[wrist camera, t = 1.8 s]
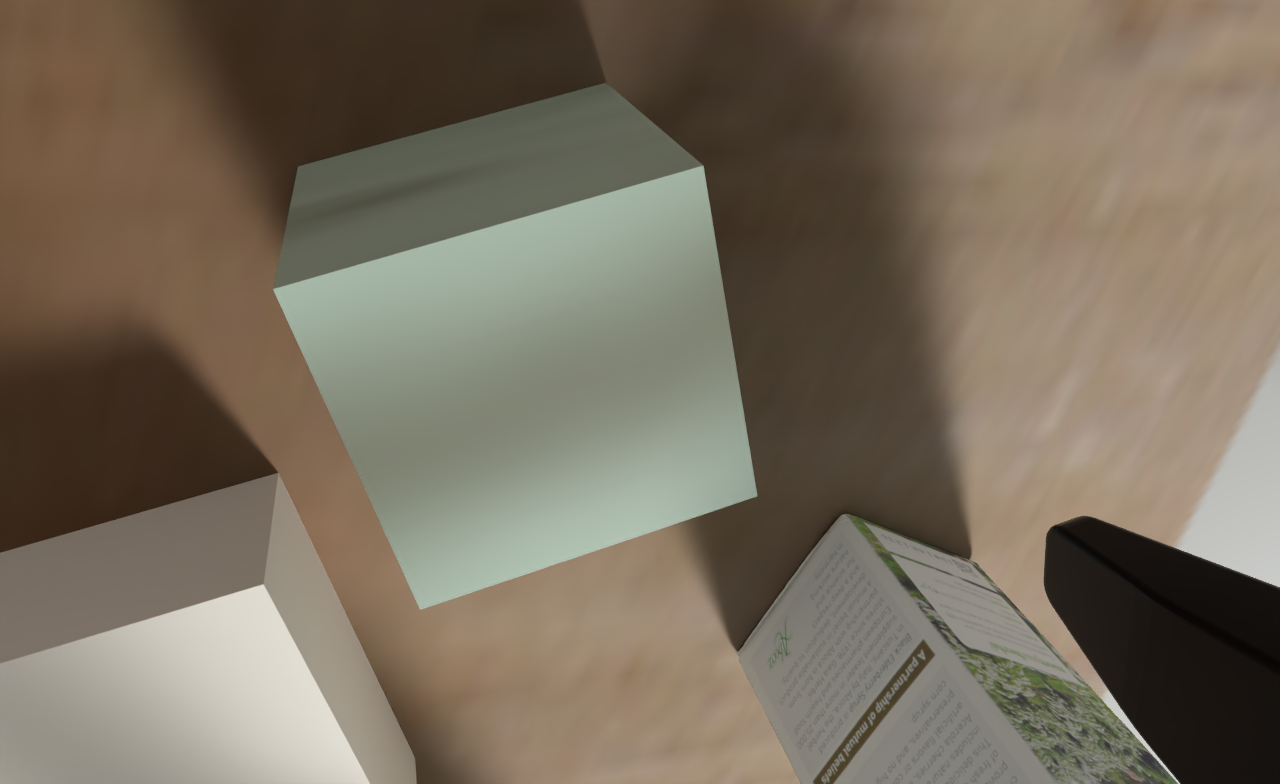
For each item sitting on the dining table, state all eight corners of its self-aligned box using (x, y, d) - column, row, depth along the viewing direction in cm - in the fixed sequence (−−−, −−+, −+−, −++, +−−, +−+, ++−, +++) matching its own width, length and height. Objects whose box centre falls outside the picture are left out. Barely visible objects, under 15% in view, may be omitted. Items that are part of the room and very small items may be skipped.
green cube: (660, 345, 21) (757, 496, 16) (404, 425, 20) (420, 609, 15) (605, 81, 18) (703, 164, 13) (298, 165, 17) (272, 289, 12)
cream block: (414, 748, 25) (422, 882, 22) (40, 872, 24) (-12, 1035, 21) (279, 464, 20) (263, 583, 17) (-210, 603, 19) (-334, 763, 15)
